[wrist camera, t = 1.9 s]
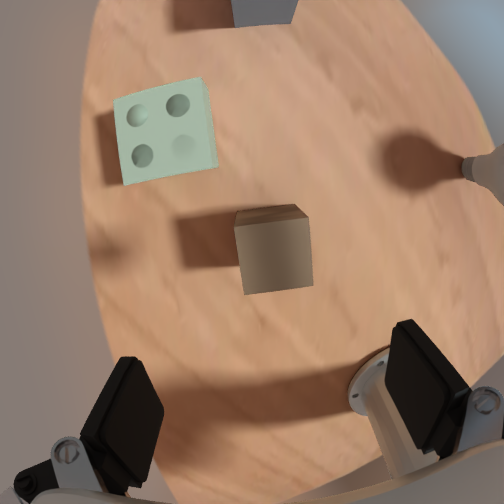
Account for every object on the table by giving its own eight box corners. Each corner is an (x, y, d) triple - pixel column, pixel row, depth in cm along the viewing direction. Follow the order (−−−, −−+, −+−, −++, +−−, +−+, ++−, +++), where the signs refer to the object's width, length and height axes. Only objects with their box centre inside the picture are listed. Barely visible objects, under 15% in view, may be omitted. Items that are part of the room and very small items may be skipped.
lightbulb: (451, 202, 24) (526, 229, 14) (439, 146, 22) (518, 150, 12) (485, 187, 24) (555, 207, 13) (474, 135, 22) (548, 138, 11)
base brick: (208, 89, 21) (200, 76, 17) (218, 167, 23) (213, 168, 19) (132, 107, 21) (113, 99, 18) (142, 181, 24) (123, 185, 20)
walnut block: (294, 204, 24) (308, 217, 19) (299, 258, 26) (313, 285, 20) (237, 211, 25) (233, 227, 19) (245, 265, 26) (244, 295, 20)
